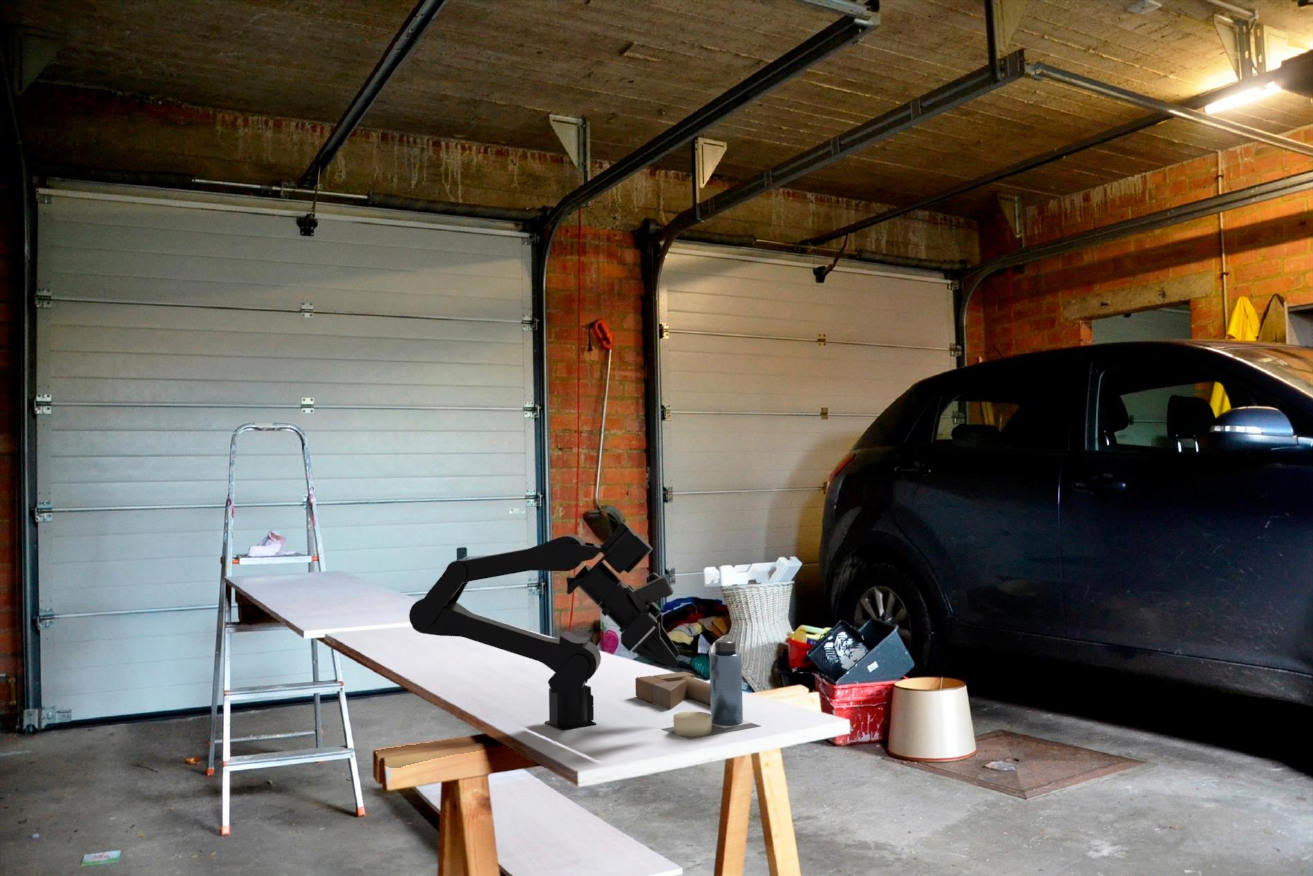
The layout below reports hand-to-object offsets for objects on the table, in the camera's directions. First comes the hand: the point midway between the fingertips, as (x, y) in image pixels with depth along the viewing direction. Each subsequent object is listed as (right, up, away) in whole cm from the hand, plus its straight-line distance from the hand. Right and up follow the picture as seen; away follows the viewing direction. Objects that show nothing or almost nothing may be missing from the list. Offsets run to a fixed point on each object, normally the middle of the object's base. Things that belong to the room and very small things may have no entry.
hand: (677, 660), depth 165 cm
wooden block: (-3, -10, +25) cm, 27 cm away
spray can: (+8, -10, -1) cm, 13 cm away
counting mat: (+5, -10, -4) cm, 12 cm away
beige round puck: (+2, -10, -6) cm, 12 cm away
